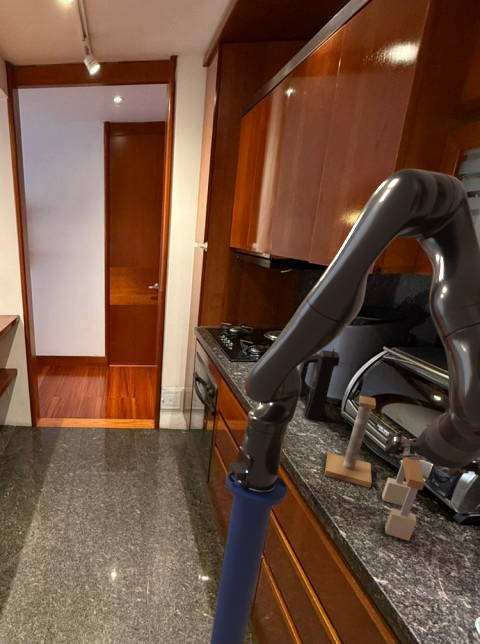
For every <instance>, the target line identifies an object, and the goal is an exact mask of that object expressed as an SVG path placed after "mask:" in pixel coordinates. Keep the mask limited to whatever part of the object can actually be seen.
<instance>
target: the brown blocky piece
mask: <svg viewBox="0 0 480 644" xmlns="http://www.w3.org/2000/svg"><path fill="white" fill-rule="evenodd" d="M405 452H406V448H405V450H404V453H405ZM415 455H417V454H416V453H415ZM385 482H386V483H385V486H384V489H383V491H382V494H381V498H382V501H383V502H387V503H391V504H394V505H396V506H397V505H398V506H401V509H398V508H394V507H391V509H390V512H389V514H388V517H387V520H386V523H385V526H384V529H385V531H384V532H385V534H386V535H389V536H392V537H394V538H398V539H401V540H404V541H407V542H410V540H411V537H412V534H413V531H414V529H415V526H416V524H417V521H418V520H417V517H416V514H415V513H411V512H410V511H411V509H412V506H413V504H414V502H415V499H416V496H417V494H418V491H423V489H424V486H425V483H426V482H425V479H424V475H423V471H422V467H421V463H420V460H411V459H408V458H403V459H402V460H401V464H400V467H399V470H398V472H397V475H396V478H392V477H387V479H386V481H385Z"/></svg>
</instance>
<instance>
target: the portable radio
mask: <svg viewBox="0 0 480 644" xmlns="http://www.w3.org/2000/svg"><path fill="white" fill-rule="evenodd" d="M335 350H336V349H335V348H333V349H332V350H323V349H322V350H320V351H319V354H318V359H317V362H316V367H315V371H314V378H313V381H312V383H311V385H310V387H309V393H308V396H307V399H306V403H305V406H304V410H303V411H304V413H303V414H304V415H303V416H304V417H305V418H306V419H307V420H313V421H319V422H320V421H321V422H324V421H325V420H326V415H327V409H326V402H327V399H328V398H327V397H328V393H329V388H330V384H331V381H332V378H333V377H332V376H333V373H334V368H335V367H338V366H339V363H340V359H341V358H340V354H339V352H338V351H335Z"/></svg>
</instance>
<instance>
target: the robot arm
mask: <svg viewBox="0 0 480 644" xmlns="http://www.w3.org/2000/svg"><path fill="white" fill-rule="evenodd" d="M397 237H398V238H407V239H414V240H415V241H416V242H417V243H418V245H419V246H420V247H421V248H422V250H423V251H424V253H425V254H426V257H427V259H428V262H429V264H430V269H431V273H430V274H431V275H430V284H429V292H428V309H429V313H430V317H431V320H432V322H433V324H434V326H435V329H436V331H437V334H438V336H439V338H440V341H441V343H442V346H443V347H444V351H445V356H446V364H447V372H448V402H449V403H448V404H449V407H448V408H447V409H446V410H445V411H444V412H443V413H441V414H440V415H438V416H437V417H436V418H435V419H434V420H432V421H431V423H429V425H428V426H427V427H426V428H425V429H424V430H423V431H421V433H420V434H419V435H418V437H416V438H415V437H414V438H412V439H407V438H404V436H403V434H402V433H400V432H394V433H393V434H391V435H390V436H389V437H388V438H387V439H386V440H385V445H384V446H385V447H384V450H383V453H384V454H385V455H391V456H390V458H391V460H393V462H394V463H397V464H399V463H400V462H402V459H403V458H408V459H411V460H419V461H426V462H430V463H432V464H434V465H436V466H438V467H442V468H446V469H449V476H451V477H457V476H462V475H465V474H470V473H473V474H474V475H475V476H479V477H480V242H479V237H478V235H477V230H476V227H475V223H474V218H473V214H472V209H471V205H470V200H469V197H468V193H467V191H466V188H465V186H464V184H463V183H462V181H461V180H459V179H458V178H457V177H455V176H454V175H450V174H447V173H444V172H437V171H431V170H425V169H419V168H402V169H399V170H396V171H395V172H392V173H391V174H390V175H388V176H387V177H386V178H385V179H384V180H382V182H381V183H379V185H378V186H377V187H376V188H375V190H374V191H373V193H372V194H371V195H370V196H369V198H368V200H367V201H366V203H365V205H364V207H363V208H362V210H361V211H360V213H359V215H358V217H357V218H356V220H355V222H354V223H353V225H352V227H351V229H350V230H349V232H348V233H347V236H346V237H345V239H344V241H343V243H342V244H341V246H340V248H339V249H338V251H337V252H336V254H335V256H333V258H332V260H331V262H330V263H329V264H328V266H327V267H326V269H325V270H324V272H323V273H322V275H321V276H320V278H319V279H318V280H317V282H316V283H315V284H314V286H313V287H312V289H311V290H310V291H309V292H308V294H307V295H306V296H305V298H304V300H303V301H302V302H301V304H300V305H299V306H298V308H297V309H296V311H295V312H294V314H293V315H292V317H291V319H290V320H288V322H287V324H286V326H285V327H284V328H283V329H282V331H281V332H280V334H278V336H277V338H276V339H275V340H274V342H273V343H272V344H271V346H270V347H269V348H268V349H267V350H266V351H265V352H264V353H263V355H262V356H261V357H260V358H259V359H258V360H257V361H256V363H254V365H253V366H252V367H251V368H250V370H249V371H248V372H247V375H246V377H245V382H244V389H245V393H246V395H247V397H248V398H249V399H250V400H251V401H253V402H254V403H257V404H256V405H255V406H254V407H252V408H251V409H250V410H249V411H248V412H247V417H246V423H245V430H244V436H243V442H242V446H239V447H238V451H237V458H236V462H229V469H228V472H229V471H230V473H229V475H228V478H229V480H230V481H231V482H232V483H233V482H235V480H234V479H233V478H232V477H231V476H232V475H233V476H234V478H235V479H236V481H238V482H239V484H240V485H241V486H242V488H243V489H244V490H249V491H252V492H256V493H270V492H272V491H273V490H274V489H275V487H276V480H277V477H278V475H279V470H280V464H281V460H282V455H283V450H284V445H285V440H286V436H287V431H288V427H289V425H290V422H291V421H292V420H293V418H294V416H295V413H296V410H297V406H298V401H299V399H300V394H301V389H302V376H301V373H300V371H299V368H298V366H300V365H301V364H302V363H304V362H305V361H307V360H308V359H309V358H311V357H313V356H314V355H316V354H317V353H320V352H321V351H322V350H323V349H324V348H326V347H327V346H329V345H330V344H331V343H333V342H334V341H336V340H337V338H338V337H339V336H340V335H342V333H343V332H344V331H345V330H346V329H347V327H348V326H349V325H350V324H351V323H352V322H353V321H354V319H355V318H356V317H357V316H358V314H359V313H360V311H361V309H362V308H363V304H364V301H365V296H366V290H367V282H368V281H367V280H368V276H369V273H370V272H371V269H372V268H373V266H374V264H375V263H376V261H377V260H378V259H379V257H380V256H381V254H382V253H383V252H384V251H385V249H386V248H388V246H389V245H390V244H391V243H392V241H393V240H395V239H396V238H397ZM405 449H406V452H405V453H404V450H405ZM415 453H416V454H417V455H415Z"/></svg>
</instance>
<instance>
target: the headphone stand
mask: <svg viewBox="0 0 480 644" xmlns="http://www.w3.org/2000/svg"><path fill="white" fill-rule="evenodd" d="M376 406H377V404H376V398H375V397H372V396H371V397H369V396H365V395H359V397H358V410H357V414H356V418H355V420H354V424H353V427H352V431H351V435H350V439H349V442H348V446H347V449H346V452H345V456H343V455H339V454H335V453H331V452H327V456H326V461H325V467H324V468H325V471H324V476H326V477H329V478H332V479H335V480H340V481H343V482H348V483H351V484H355V485H358V486H362V487H364V488H365V487H366V488H368V489H370V488H371V486H372V481H373V480H372V465H371V462H367V461H363V460H360V459H358V458H359V454H360V451H361V447H362V444H363V441H364V437H365V433H366V430H367V428H368V424H369V420H370V417H371V413H372V411H373V410H376Z"/></svg>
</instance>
